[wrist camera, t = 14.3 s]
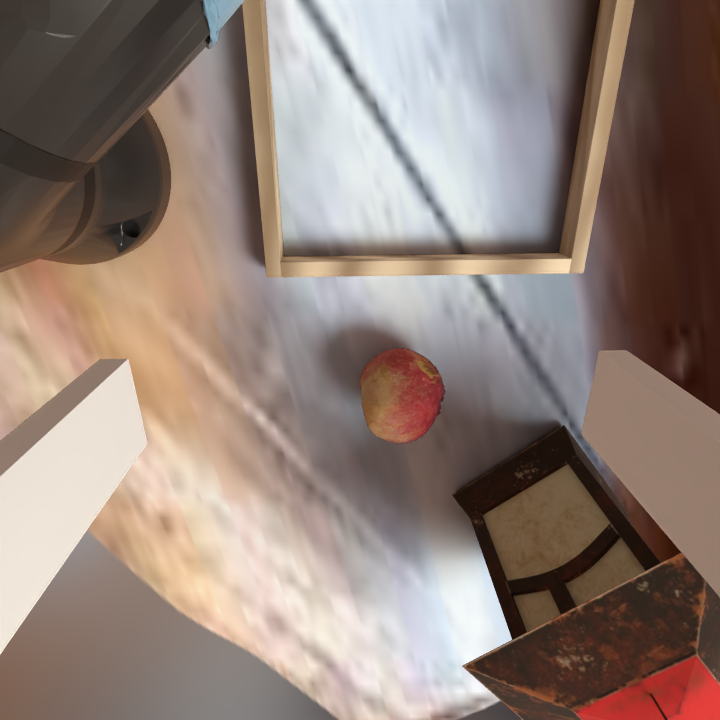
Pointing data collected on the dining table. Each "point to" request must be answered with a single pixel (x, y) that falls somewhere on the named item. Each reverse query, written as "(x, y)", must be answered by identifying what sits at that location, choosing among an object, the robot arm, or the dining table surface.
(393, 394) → the fruit
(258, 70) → the pine frame
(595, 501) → the lantern
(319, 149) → the dining table surface
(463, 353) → the dining table surface
